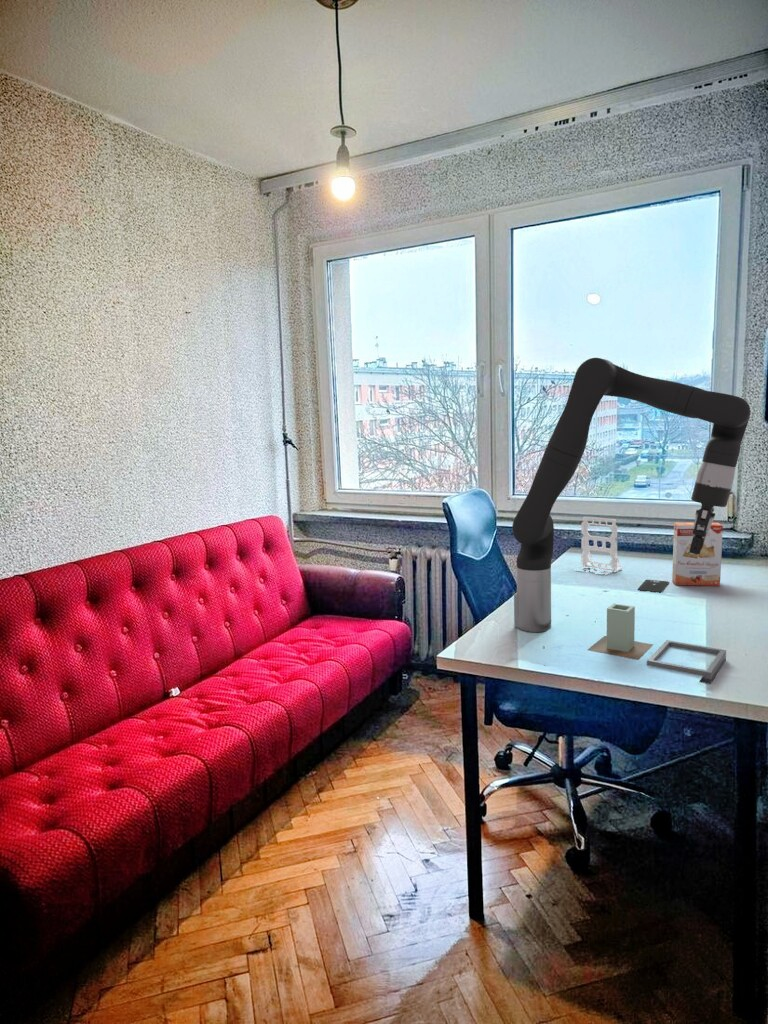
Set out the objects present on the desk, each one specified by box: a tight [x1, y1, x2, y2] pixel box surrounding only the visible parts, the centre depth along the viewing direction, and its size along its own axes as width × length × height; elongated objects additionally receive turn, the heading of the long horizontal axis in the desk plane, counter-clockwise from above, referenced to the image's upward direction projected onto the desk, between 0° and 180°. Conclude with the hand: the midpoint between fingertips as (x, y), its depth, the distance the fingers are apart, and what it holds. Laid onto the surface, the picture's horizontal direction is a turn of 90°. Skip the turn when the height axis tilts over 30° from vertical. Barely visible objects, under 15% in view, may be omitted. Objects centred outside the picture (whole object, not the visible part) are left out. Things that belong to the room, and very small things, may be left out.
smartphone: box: [637, 579, 670, 594], centre depth 210 cm, size 8×15×1 cm, turn 147°
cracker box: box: [671, 522, 724, 587], centre depth 210 cm, size 14×6×21 cm, turn 76°
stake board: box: [587, 635, 654, 660], centre depth 151 cm, size 12×12×10 cm
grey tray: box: [646, 639, 727, 685], centre depth 143 cm, size 13×16×2 cm
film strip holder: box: [574, 516, 623, 576], centre depth 235 cm, size 14×14×20 cm
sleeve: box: [606, 603, 636, 652], centre depth 151 cm, size 5×5×10 cm
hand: (695, 551), depth 146 cm, fingers open, 8 cm apart
